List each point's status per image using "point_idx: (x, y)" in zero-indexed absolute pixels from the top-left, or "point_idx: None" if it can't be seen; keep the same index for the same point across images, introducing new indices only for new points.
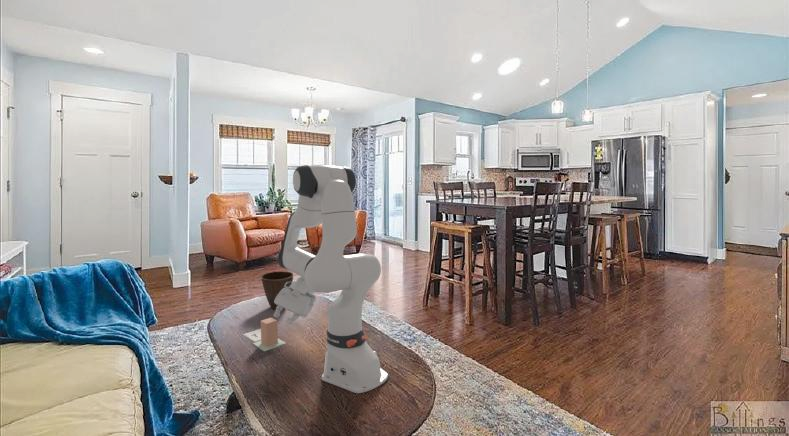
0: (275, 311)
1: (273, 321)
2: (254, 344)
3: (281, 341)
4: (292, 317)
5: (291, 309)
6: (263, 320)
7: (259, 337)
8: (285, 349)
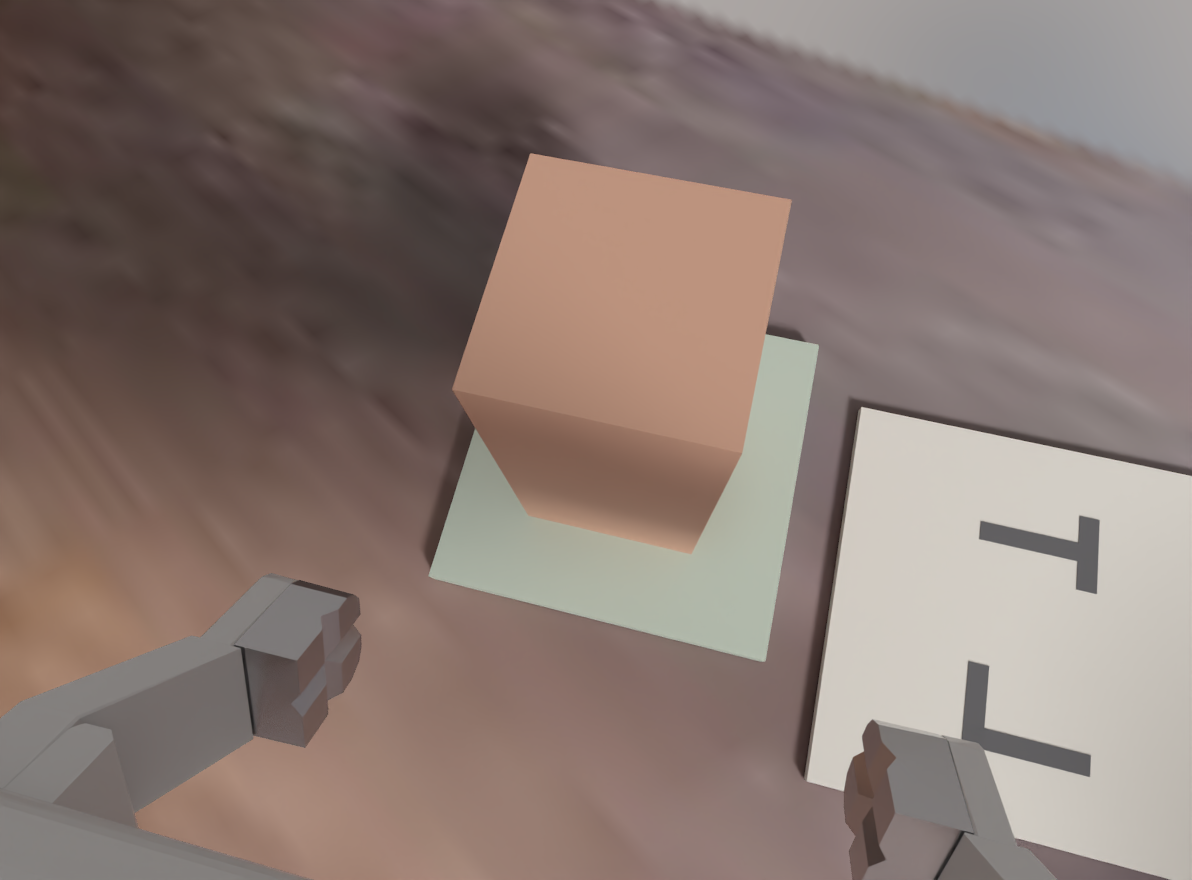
0: (1031, 852)
1: (491, 309)
2: (770, 335)
3: (520, 575)
4: (125, 668)
5: (135, 848)
6: (745, 241)
7: (927, 529)
8: (344, 468)
